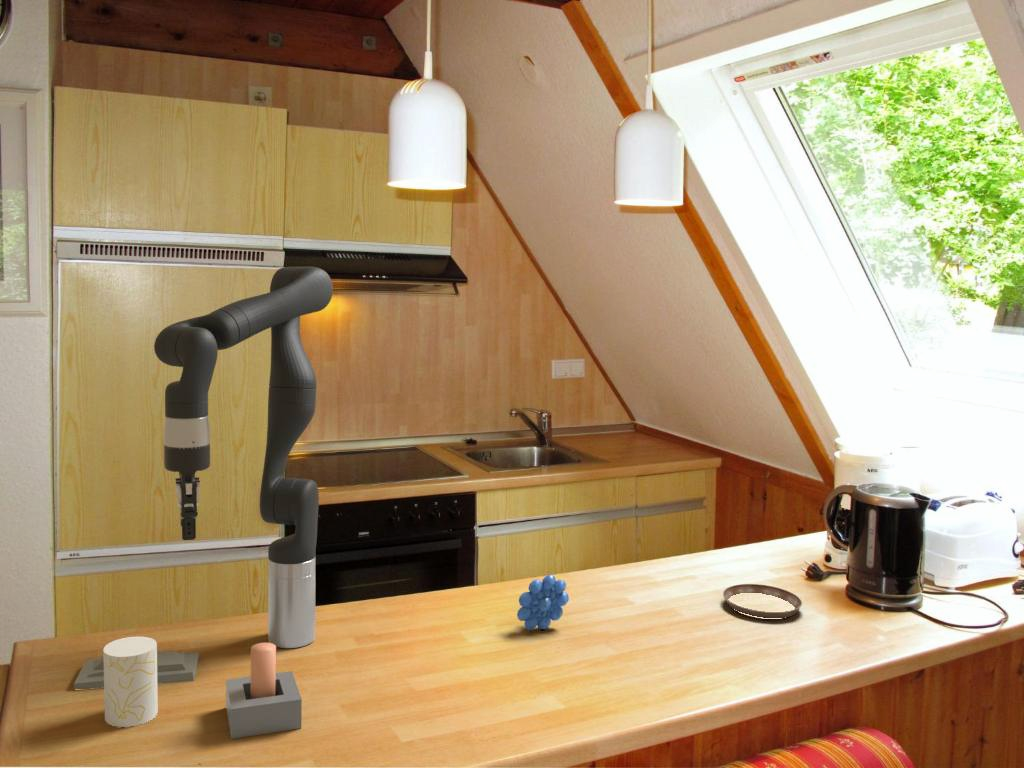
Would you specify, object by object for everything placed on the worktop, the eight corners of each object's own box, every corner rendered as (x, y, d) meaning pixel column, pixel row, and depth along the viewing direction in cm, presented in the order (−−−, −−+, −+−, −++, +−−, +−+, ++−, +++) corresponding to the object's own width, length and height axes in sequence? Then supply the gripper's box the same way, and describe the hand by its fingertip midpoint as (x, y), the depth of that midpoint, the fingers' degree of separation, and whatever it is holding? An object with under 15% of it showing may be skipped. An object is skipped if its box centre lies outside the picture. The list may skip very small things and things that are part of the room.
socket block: (226, 707, 154) (226, 679, 154) (291, 698, 158) (292, 671, 158) (231, 738, 144) (231, 709, 144) (301, 728, 148) (301, 699, 148)
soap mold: (85, 669, 168) (85, 651, 168) (199, 661, 173) (198, 643, 173) (73, 694, 159) (73, 675, 158) (194, 684, 164) (194, 666, 163)
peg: (248, 712, 152) (249, 644, 151) (273, 709, 154) (274, 641, 153) (251, 723, 149) (252, 653, 147) (276, 720, 150) (277, 650, 149)
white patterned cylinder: (104, 731, 145) (102, 659, 144) (105, 708, 153) (103, 640, 151) (158, 722, 149) (157, 652, 147) (156, 700, 156) (155, 633, 154)
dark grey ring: (790, 630, 198) (791, 617, 197) (711, 612, 207) (712, 599, 206) (809, 606, 213) (810, 593, 212) (735, 590, 222) (736, 578, 221)
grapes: (559, 619, 199) (561, 566, 197) (571, 631, 192) (574, 576, 191) (509, 624, 195) (511, 571, 193) (520, 637, 188) (522, 581, 187)
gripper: (212, 448, 151) (213, 542, 153) (207, 433, 165) (208, 520, 167) (164, 450, 149) (165, 546, 151) (163, 435, 162) (164, 523, 164)
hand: (188, 532), depth 159 cm, fingers open, 8 cm apart
